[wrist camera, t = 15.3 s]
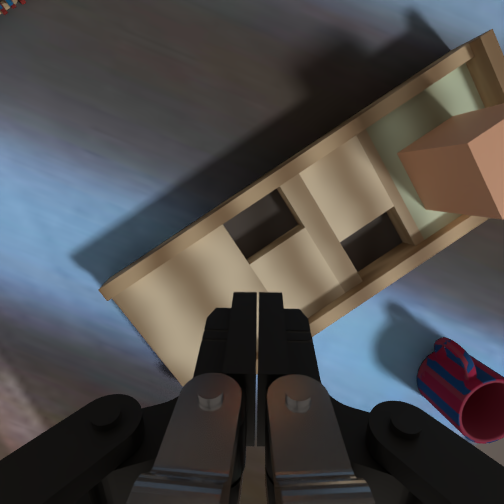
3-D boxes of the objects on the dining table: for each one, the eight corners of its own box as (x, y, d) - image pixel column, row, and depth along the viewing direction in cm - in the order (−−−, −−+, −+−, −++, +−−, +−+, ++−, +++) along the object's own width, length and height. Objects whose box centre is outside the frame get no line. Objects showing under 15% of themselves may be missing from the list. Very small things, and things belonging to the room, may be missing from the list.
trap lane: (198, 391, 37) (197, 422, 33) (109, 278, 34) (93, 294, 29) (509, 182, 38) (555, 182, 33) (451, 50, 34) (492, 28, 30)
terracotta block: (425, 209, 34) (502, 219, 26) (396, 153, 33) (467, 143, 24) (479, 173, 34) (573, 171, 26) (452, 116, 33) (543, 92, 24)
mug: (424, 411, 42) (467, 454, 35) (401, 334, 39) (442, 366, 33) (477, 387, 42) (529, 426, 35) (457, 311, 40) (509, 337, 33)
